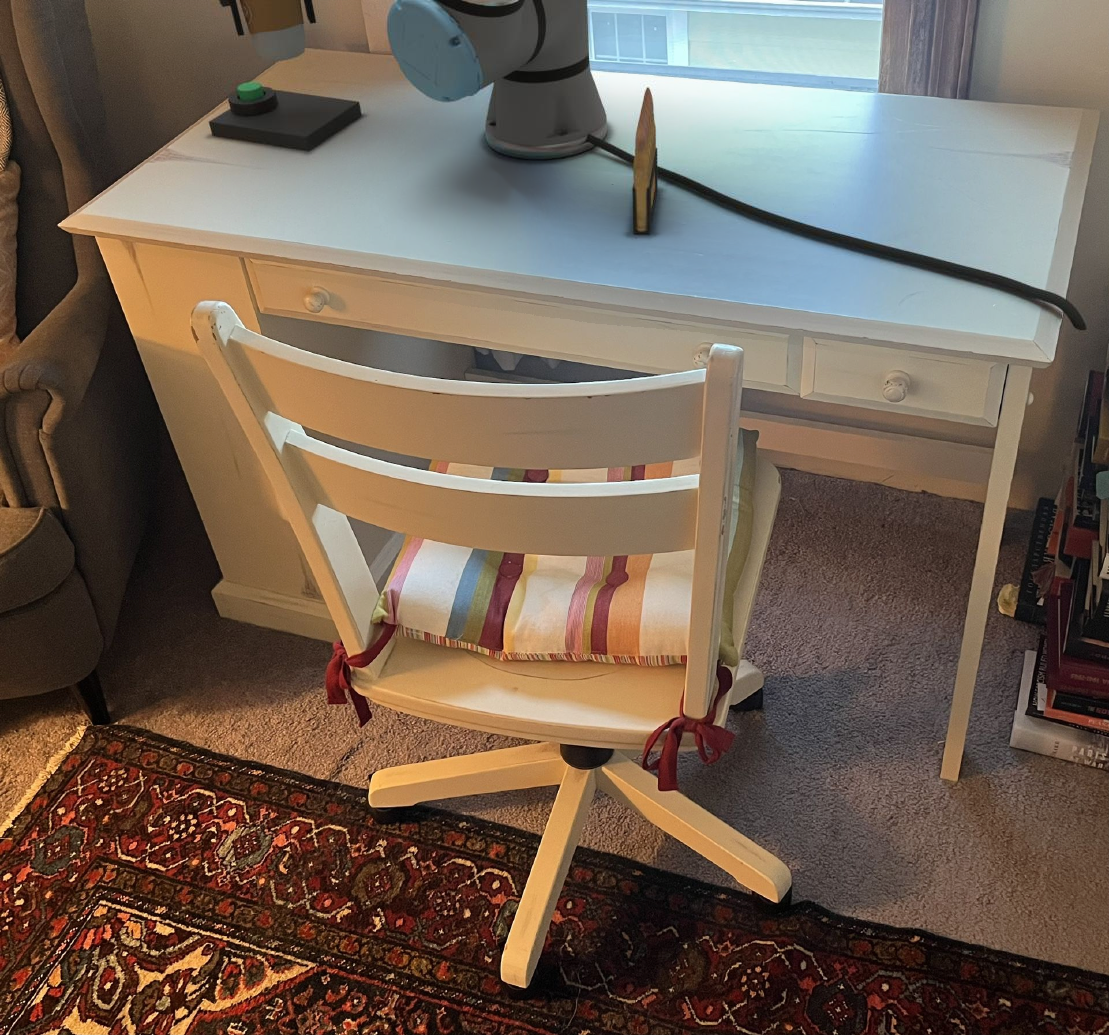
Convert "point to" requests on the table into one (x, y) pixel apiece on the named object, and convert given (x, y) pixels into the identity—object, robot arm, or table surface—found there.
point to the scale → (285, 119)
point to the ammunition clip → (645, 168)
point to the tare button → (250, 91)
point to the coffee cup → (275, 28)
